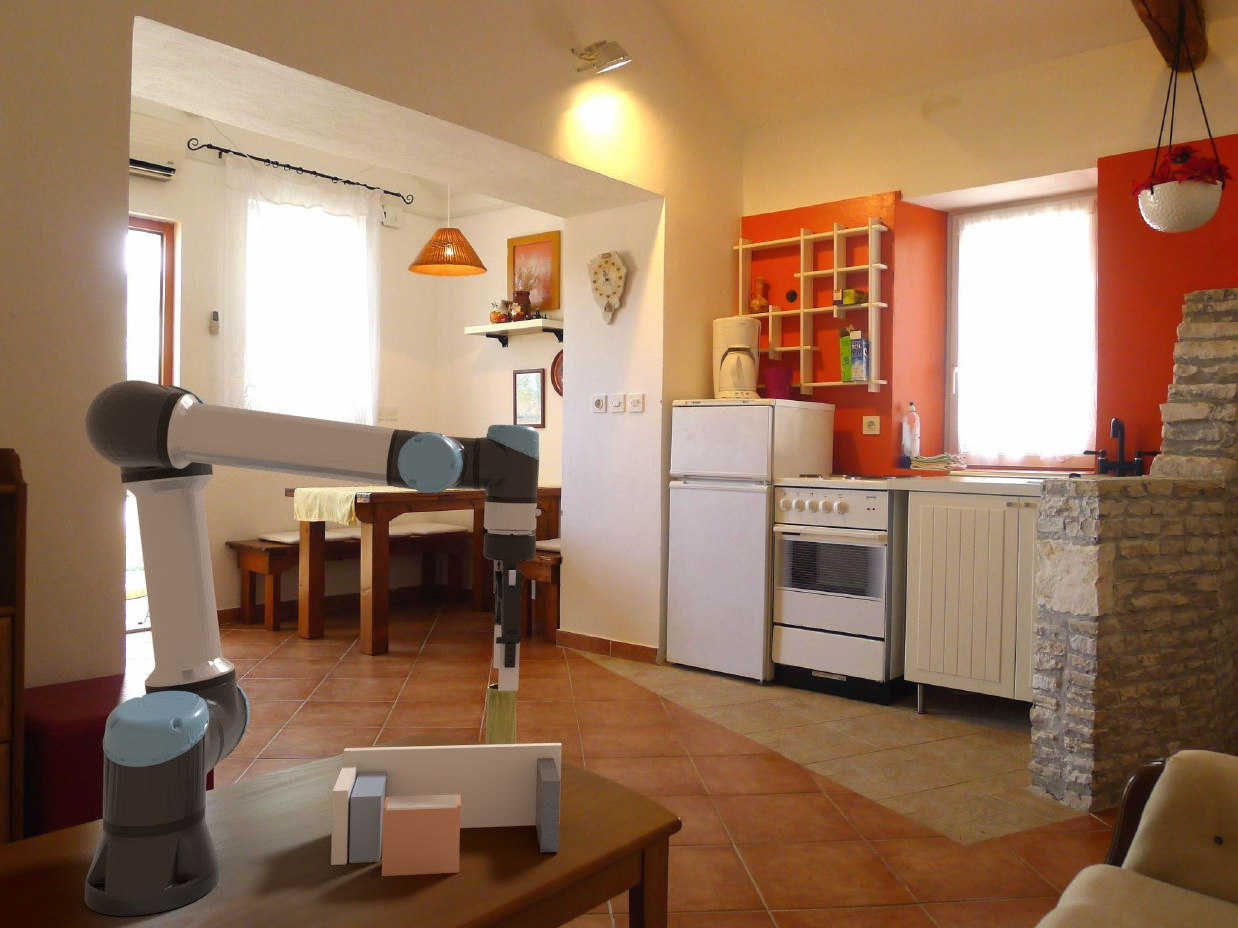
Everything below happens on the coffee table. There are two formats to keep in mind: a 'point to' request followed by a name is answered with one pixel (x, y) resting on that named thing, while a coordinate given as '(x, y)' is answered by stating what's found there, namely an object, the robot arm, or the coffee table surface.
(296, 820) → the coffee table surface
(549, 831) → the bookend
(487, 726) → the vase
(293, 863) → the coffee table surface
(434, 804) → the rust book
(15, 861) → the coffee table surface
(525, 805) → the white upright backboard
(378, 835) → the blue book
